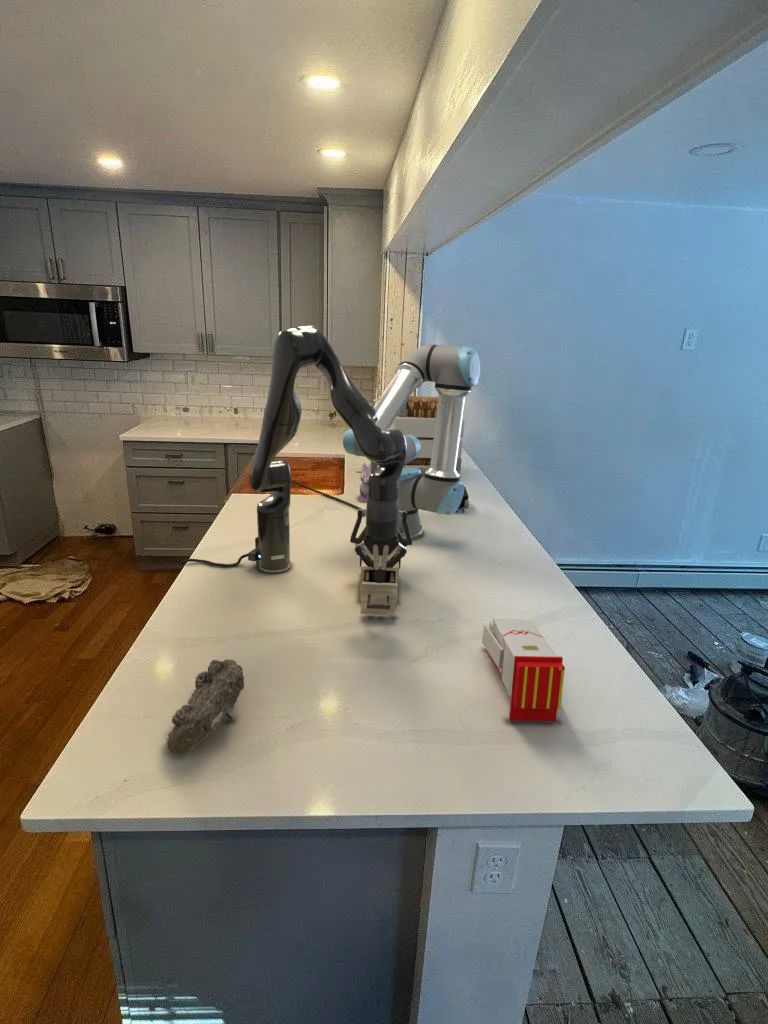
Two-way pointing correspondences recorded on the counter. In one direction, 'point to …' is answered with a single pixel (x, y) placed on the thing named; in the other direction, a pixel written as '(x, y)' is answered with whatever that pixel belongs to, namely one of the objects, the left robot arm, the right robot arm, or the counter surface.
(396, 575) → the cabinet
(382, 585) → the drawer
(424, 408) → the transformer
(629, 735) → the counter surface
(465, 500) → the figurine character
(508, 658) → the toy
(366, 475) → the figurine
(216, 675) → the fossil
